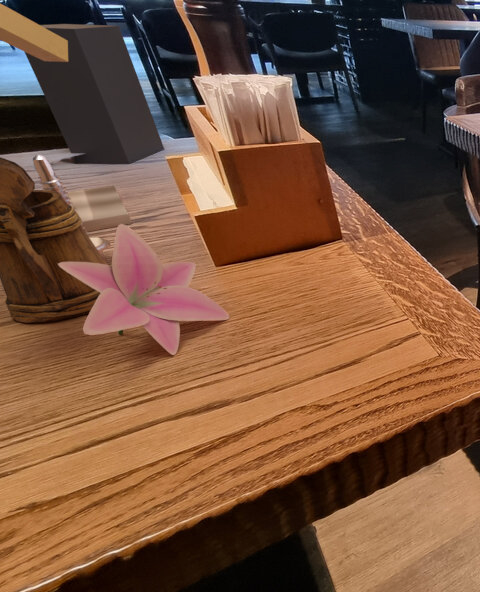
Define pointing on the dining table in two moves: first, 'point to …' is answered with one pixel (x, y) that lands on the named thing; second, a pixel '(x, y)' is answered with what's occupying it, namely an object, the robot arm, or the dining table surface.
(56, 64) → the pedestal
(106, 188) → the board
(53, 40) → the yellow bar
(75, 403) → the dining table surface
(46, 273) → the wooden mug
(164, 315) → the lily
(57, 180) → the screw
